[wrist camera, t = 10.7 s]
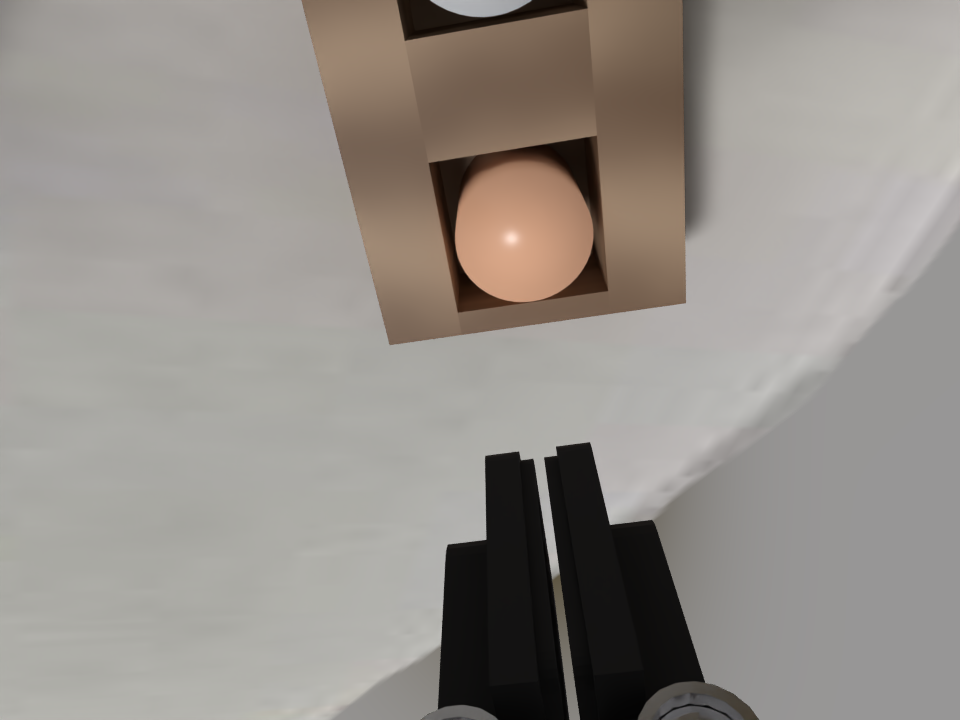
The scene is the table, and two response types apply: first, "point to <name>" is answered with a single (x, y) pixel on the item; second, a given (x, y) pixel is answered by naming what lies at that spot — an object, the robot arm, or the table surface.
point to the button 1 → (522, 224)
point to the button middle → (480, 6)
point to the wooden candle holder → (507, 145)
